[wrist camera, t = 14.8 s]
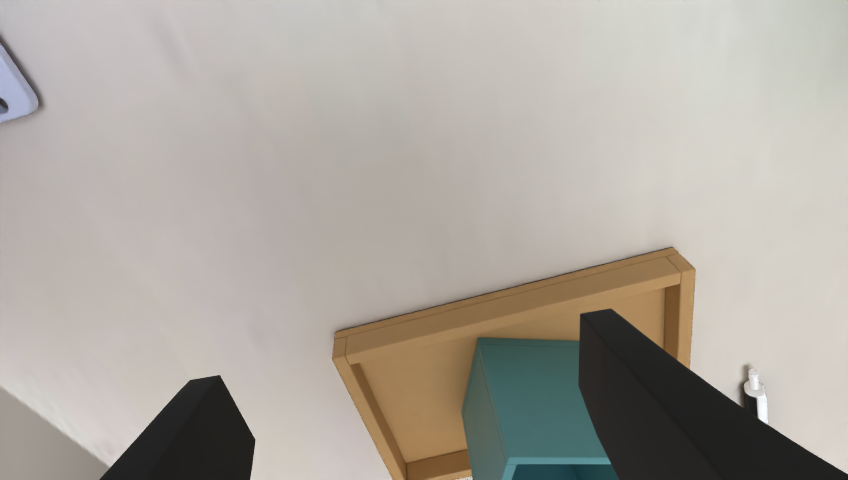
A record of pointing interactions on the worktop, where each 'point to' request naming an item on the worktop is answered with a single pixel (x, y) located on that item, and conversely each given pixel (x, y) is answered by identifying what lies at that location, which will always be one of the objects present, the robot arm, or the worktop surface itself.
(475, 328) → the tray
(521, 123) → the worktop surface
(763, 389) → the pen
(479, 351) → the tub
